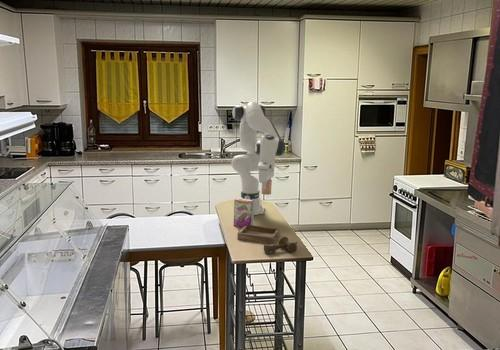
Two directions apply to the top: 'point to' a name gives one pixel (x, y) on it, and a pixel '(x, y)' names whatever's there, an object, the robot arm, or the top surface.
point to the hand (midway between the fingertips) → (266, 187)
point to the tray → (258, 234)
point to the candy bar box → (243, 212)
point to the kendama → (281, 246)
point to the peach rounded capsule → (268, 189)
